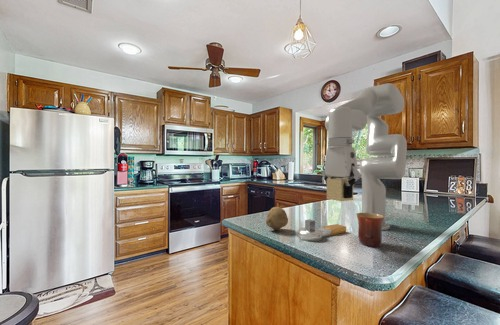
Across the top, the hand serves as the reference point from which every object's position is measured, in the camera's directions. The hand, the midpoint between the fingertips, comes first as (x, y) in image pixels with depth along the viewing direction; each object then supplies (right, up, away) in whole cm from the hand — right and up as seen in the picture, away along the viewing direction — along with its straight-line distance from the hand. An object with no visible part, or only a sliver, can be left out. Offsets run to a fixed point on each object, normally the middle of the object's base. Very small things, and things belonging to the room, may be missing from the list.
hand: (339, 196), depth 76 cm
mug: (+11, -18, +2) cm, 21 cm away
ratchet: (-2, -17, +13) cm, 22 cm away
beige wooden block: (0, -1, 0) cm, 1 cm away
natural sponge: (-19, -18, +18) cm, 32 cm away
